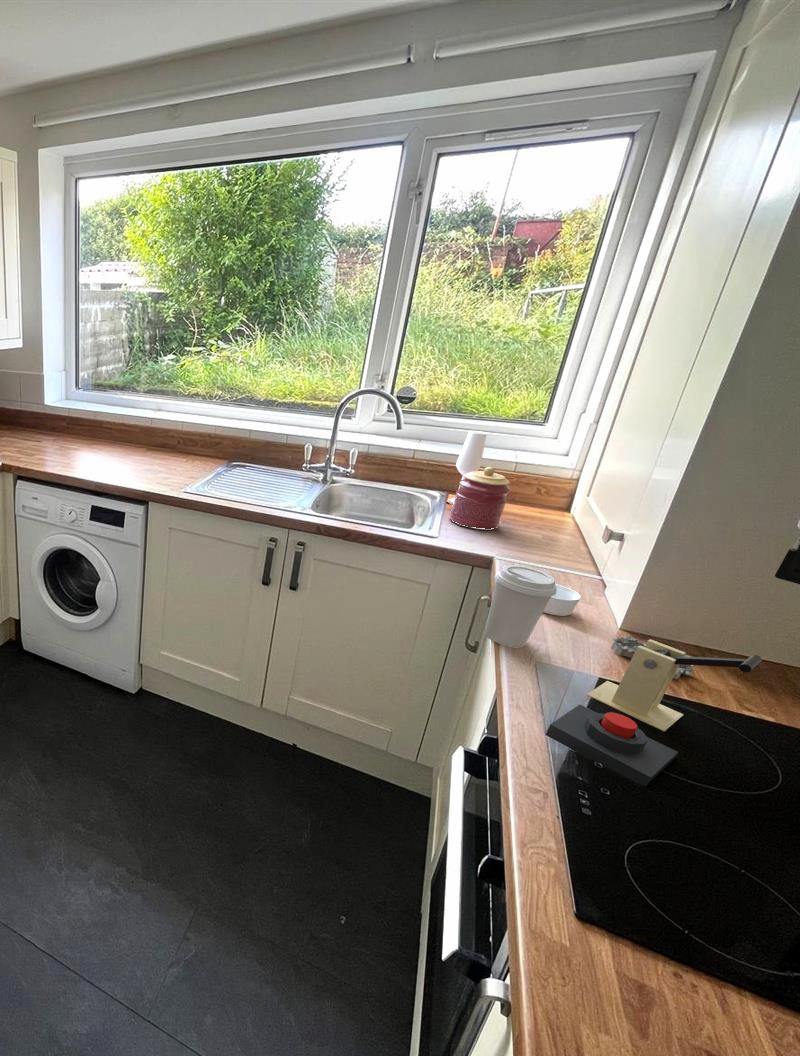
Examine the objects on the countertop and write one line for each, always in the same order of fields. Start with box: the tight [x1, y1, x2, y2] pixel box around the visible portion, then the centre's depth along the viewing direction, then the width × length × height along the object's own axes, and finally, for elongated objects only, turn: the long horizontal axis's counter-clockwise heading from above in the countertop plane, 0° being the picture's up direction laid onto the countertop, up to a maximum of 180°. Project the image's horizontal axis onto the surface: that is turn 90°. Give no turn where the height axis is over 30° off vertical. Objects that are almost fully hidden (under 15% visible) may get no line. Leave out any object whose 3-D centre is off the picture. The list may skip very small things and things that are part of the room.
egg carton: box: [610, 635, 694, 680], centre depth 107 cm, size 11×8×4 cm
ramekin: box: [542, 583, 582, 617], centre depth 127 cm, size 9×9×4 cm
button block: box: [545, 704, 679, 786], centre depth 86 cm, size 12×10×4 cm
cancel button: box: [601, 711, 638, 738], centre depth 85 cm, size 4×4×2 cm
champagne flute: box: [449, 430, 488, 503], centre depth 189 cm, size 7×7×24 cm
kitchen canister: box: [449, 466, 511, 529], centre depth 173 cm, size 13×13×18 cm
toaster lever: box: [653, 650, 763, 673], centre depth 87 cm, size 12×5×2 cm, turn 31°
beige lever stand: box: [586, 638, 687, 733], centre depth 93 cm, size 10×8×12 cm
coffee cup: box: [483, 564, 557, 649], centre depth 110 cm, size 10×10×15 cm
